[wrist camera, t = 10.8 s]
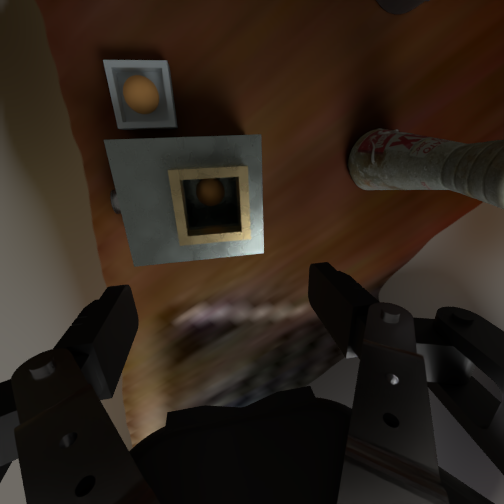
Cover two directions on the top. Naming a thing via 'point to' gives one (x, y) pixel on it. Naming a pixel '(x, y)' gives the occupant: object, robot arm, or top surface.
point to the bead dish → (162, 80)
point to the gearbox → (188, 196)
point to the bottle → (428, 165)
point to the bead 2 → (210, 191)
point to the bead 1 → (141, 94)
